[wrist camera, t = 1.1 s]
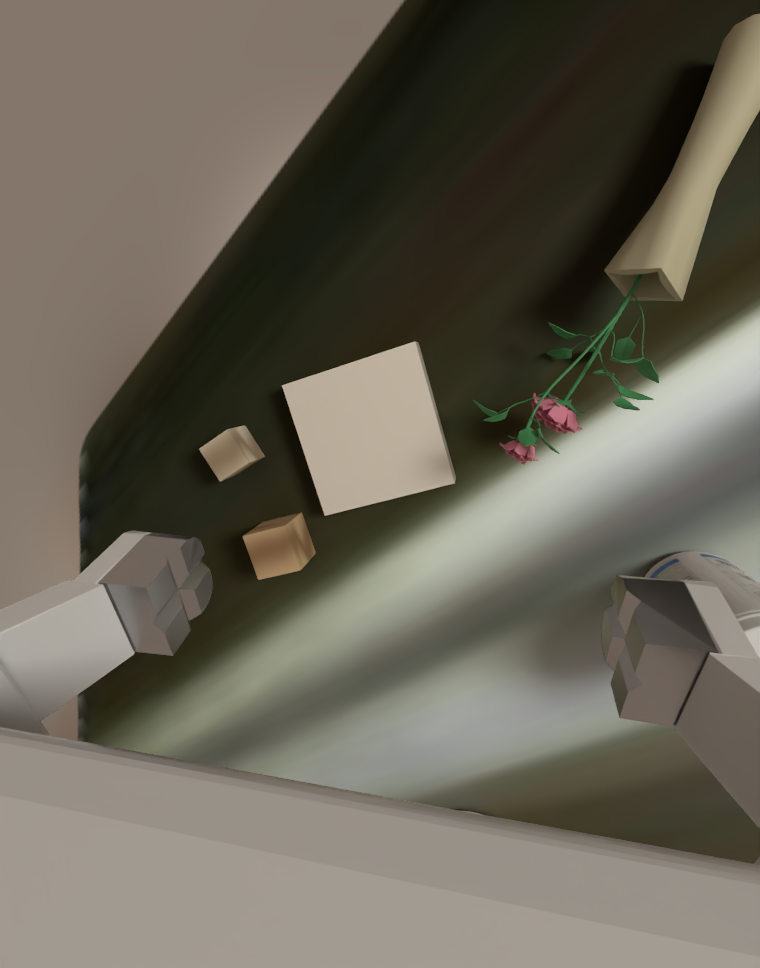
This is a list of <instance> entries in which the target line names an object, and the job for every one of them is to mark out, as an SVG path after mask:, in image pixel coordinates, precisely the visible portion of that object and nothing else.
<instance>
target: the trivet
mask: <svg viewBox="0 0 760 968" xmlns="http://www.w3.org/2000/svg"><path fill="white" fill-rule="evenodd" d="M282 388H283V391H284V394H285V397H286V400H287V403H288V406H289V409H290V412H291V415H292V418H293V421H294V424H295V427H296V430H297V433H298V436H299V439H300V442H301V445H302V448H303V451H304V454H305V457H306V460H307V463H308V466H309V469H310V473H311V476H312V479H313V482H314V485H315V488H316V491H317V494H318V497H319V500H320V503H321V506H322V509H323V512H324V515H325V516H326V515H330V514H334V513H338V512H342V511H346V510H350V509H354V508H358V507H362V506H366V505H370V504H374V503H378V502H382V501H386V500H390V499H394V498H398V497H402V496H406V495H410V494H414V493H418V492H422V491H426V490H430V489H434V488H438V487H442V486H446V485H450V484H454V483H455V480H456V476H455V473H454V469H453V465H452V462H451V458H450V455H449V451H448V447H447V444H446V440H445V437H444V433H443V429H442V426H441V422H440V419H439V415H438V411H437V408H436V404H435V401H434V397H433V393H432V390H431V386H430V383H429V379H428V375H427V372H426V368H425V365H424V361H423V357H422V354H421V350H420V347H419V343H418V342H416V341H415V342H412V343H409V344H406V345H403V346H400V347H397V348H394V349H391V350H388V351H385V352H382V353H379V354H376V355H373V356H370V357H367V358H364V359H361V360H358V361H355V362H352V363H349V364H346V365H343V366H339V367H336V368H333V369H330V370H327V371H324V372H321V373H318V374H315V375H312V376H309V377H306V378H303V379H300V380H297V381H294V382H291V383H288V384H285V385H282Z"/></svg>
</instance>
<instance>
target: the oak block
mask: <svg viewBox="0 0 760 968" xmlns="http://www.w3.org/2000/svg"><path fill="white" fill-rule="evenodd" d="M243 539H244V542H245V544H246V547H247V550H248V553H249V556H250V558H251V561H252V564H253V567H254V569H255V572H256V575H257V578H258V580H260V579H264V578H269V577H273V576H278V575H282V574H287V573H291V572H296V571H300V570H301V569H302V568H303V567H304V566H305V565H306V564H307V563H308V561H309V560H310V559H311V558H312V557H313V556H314V555H315V554H316V553H315V550H314V547H313V544H312V541H311V538H310V535H309V532H308V529H307V526H306V523H305V520H304V517H303V514H302V512H300V513H296V514H293V515H289V516H285V517H281V518H277V519H273V520H269V521H265V522H262V523H261V524H259V525H258V526H256V527H255V528H254V529H252V530H251V531H249V532H248V533H246V534H245V535H244V536H243Z"/></svg>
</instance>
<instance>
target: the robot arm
mask: <svg viewBox="0 0 760 968" xmlns="http://www.w3.org/2000/svg"><path fill="white" fill-rule="evenodd" d="M203 555H204V550H203V547H202V544H201V541H200V540H198V539H196V538H194V537H187V536H178V535H169V534H160V533H148V532H139V531H129V532H126V533H123V534H122V535H121V536H120V537H119V538H118V539H117V540H116V541H115V542H114V543H113V544H112V545H111V546H109V547H108V548H107V549H106V550H105V551H104V552H103V553H102V554H101V555H100V556H99V557H98V558H97V559H96V560H95V561H94V562H92V563H91V564H90V565H89V566H88V567H87V568H86V569H85V570H84V571H83V572H82V573H81V574H80V575H79V576H78V577H77V578H76V579H74V580H73V581H69V580H66V581H63V582H61V583H59V584H57V585H54V586H52V587H50V588H48V589H46V590H43V591H41V592H39V593H37V594H34V595H32V596H30V597H27V598H25V599H23V600H21V601H19V602H16V603H14V604H12V605H10V606H7V607H5V608H3V609H1V610H0V968H760V857H759V858H758V860H757V861H756V862H755V863H754V864H750V863H745V862H739V861H734V860H728V859H723V858H717V857H712V856H706V855H701V854H695V853H690V852H684V851H679V850H673V849H668V848H662V847H657V846H651V845H646V844H640V843H635V842H629V841H624V840H618V839H613V838H607V837H602V836H596V835H591V834H585V833H580V832H574V831H569V830H563V829H558V828H552V827H547V826H541V825H536V824H530V823H525V822H519V821H514V820H508V819H503V818H497V817H492V816H486V815H482V814H479V813H475V812H469V811H459V810H453V809H448V808H442V807H437V806H431V805H426V804H420V803H415V802H409V801H404V800H398V799H393V798H388V797H382V796H377V795H371V794H366V793H360V792H355V791H349V790H344V789H338V788H333V787H327V786H322V785H317V784H311V783H306V782H300V781H295V780H289V779H284V778H278V777H273V776H267V775H262V774H256V773H251V772H245V771H240V770H234V769H229V768H223V767H218V766H213V765H207V764H202V763H196V762H191V761H185V760H180V759H174V758H169V757H163V756H158V755H152V754H147V753H141V752H136V751H130V750H125V749H119V748H114V747H108V746H103V745H97V744H92V743H86V742H81V741H75V740H70V739H64V738H59V737H53V736H50V734H49V733H48V731H47V730H46V728H45V727H44V726H43V724H42V723H41V721H42V720H43V719H44V718H46V717H47V716H49V715H50V714H51V713H53V712H54V711H56V710H57V709H58V708H60V707H61V706H63V705H64V704H65V703H67V702H68V701H69V700H71V699H72V698H74V697H75V696H77V695H78V694H79V693H81V692H82V691H83V690H85V689H86V688H88V687H89V686H90V685H92V684H93V683H95V682H96V681H97V680H99V679H100V678H102V677H103V676H104V675H106V674H107V673H108V672H110V671H111V670H113V669H114V668H115V667H117V666H118V665H120V664H121V663H122V662H124V661H125V660H127V659H128V658H129V657H131V656H132V655H134V651H135V652H144V653H153V654H162V655H172V656H173V655H174V654H175V652H176V651H177V649H178V648H179V646H180V645H181V643H182V642H183V640H184V639H185V637H186V636H187V634H188V633H189V631H190V630H191V629H190V622H189V621H190V620H191V619H193V618H195V617H196V616H198V615H200V614H201V613H202V612H203V610H204V609H205V607H206V606H207V604H208V602H209V599H210V595H211V592H212V577H211V573H210V569H209V568H208V567H206V566H205V565H204V564H203V563H202V562H201V561H200V560H201V558H202V557H203ZM610 593H611V596H612V599H613V603H614V604H612V605H611V606H610V607H608V608H607V609H605V613H604V617H603V621H602V634H601V640H602V649H603V654H604V658H605V662H606V663H607V664H608V665H609V666H610V667H611V668H612V669H613V670H614V674H613V677H612V681H611V686H612V690H613V694H614V698H615V702H616V706H617V710H618V714H619V718H624V719H630V720H636V721H642V722H648V723H654V724H660V725H666V726H672V727H675V729H674V730H675V731H676V732H677V733H678V734H679V735H680V737H681V738H682V739H683V740H684V741H685V742H686V744H687V745H688V746H689V747H690V748H691V749H692V751H693V752H694V753H695V754H696V755H697V756H698V758H699V759H700V760H701V761H702V762H703V763H704V764H705V766H706V767H707V768H708V769H709V770H710V771H711V773H712V774H713V775H714V776H715V777H716V778H717V780H718V781H719V782H720V783H721V784H722V785H723V787H724V788H725V789H726V790H727V791H728V792H729V794H730V795H731V796H732V797H733V798H734V799H735V800H736V802H737V803H738V804H739V805H740V806H741V807H742V809H743V810H744V811H745V812H746V813H747V814H748V816H749V817H750V818H751V819H752V820H753V821H754V823H755V824H756V825H757V826H758V827H759V828H760V658H759V656H758V655H757V653H756V651H755V650H754V648H753V646H752V644H751V643H750V641H749V639H748V638H747V636H746V634H745V633H744V631H743V629H742V627H741V626H740V624H739V622H738V621H737V619H736V617H735V615H734V614H733V612H732V610H731V609H730V607H729V605H728V604H727V602H726V600H725V598H724V597H723V595H722V593H721V592H720V590H719V588H718V586H717V585H715V584H714V583H712V582H707V581H693V580H671V579H659V578H647V577H635V576H623V575H617V576H616V578H615V579H614V581H613V584H612V587H611V591H610Z"/></svg>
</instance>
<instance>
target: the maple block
mask: <svg viewBox="0 0 760 968" xmlns="http://www.w3.org/2000/svg"><path fill="white" fill-rule="evenodd" d="M199 450H200V452H201V453H202V455H203V456H204V458H205V459H206V461H207V462H208V464H209V465H210V467H211V469H212V470H213V472H214V473H215V475H216V476H217V478H218V479H219V481H223V480H225V479H227V478H230V477H232V476H234V475H237V474H239V473H240V472H242V471H243V470H245V469H246V468H248V467H249V466H251V465H253V464H254V463H256V462H257V461H259V460H260V459H262V458H263V457H265V456H264V454H263V453H262V451H261V450H260V448H259V446H258V445H257V443H256V442H255V440H254V439H253V437H252V435H251V434H250V432H249V431H248V429H247V428H246V426H245V425H244V426H240V427H236V428H231V429H227V430H226V431H224V432H223V433H222V434H220V435H219V436H217V437H216V438H214V439H213V440H211V441H210V442H208V443H207V444H205V445H204V446H203V447H201V448H200V449H199Z"/></svg>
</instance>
